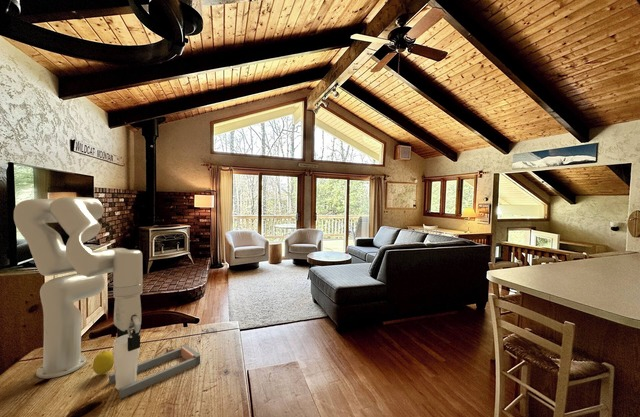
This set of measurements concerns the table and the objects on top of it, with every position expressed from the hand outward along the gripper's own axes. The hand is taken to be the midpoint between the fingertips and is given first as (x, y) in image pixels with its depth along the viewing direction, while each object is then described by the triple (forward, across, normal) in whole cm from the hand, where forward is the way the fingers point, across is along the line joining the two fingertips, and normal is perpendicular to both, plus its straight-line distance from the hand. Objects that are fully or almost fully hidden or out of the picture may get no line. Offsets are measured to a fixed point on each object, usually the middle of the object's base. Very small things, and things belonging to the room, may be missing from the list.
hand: (128, 344), depth 86 cm
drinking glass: (+13, -1, 0) cm, 13 cm away
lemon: (+13, -13, -3) cm, 19 cm away
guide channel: (+13, -1, +9) cm, 16 cm away
